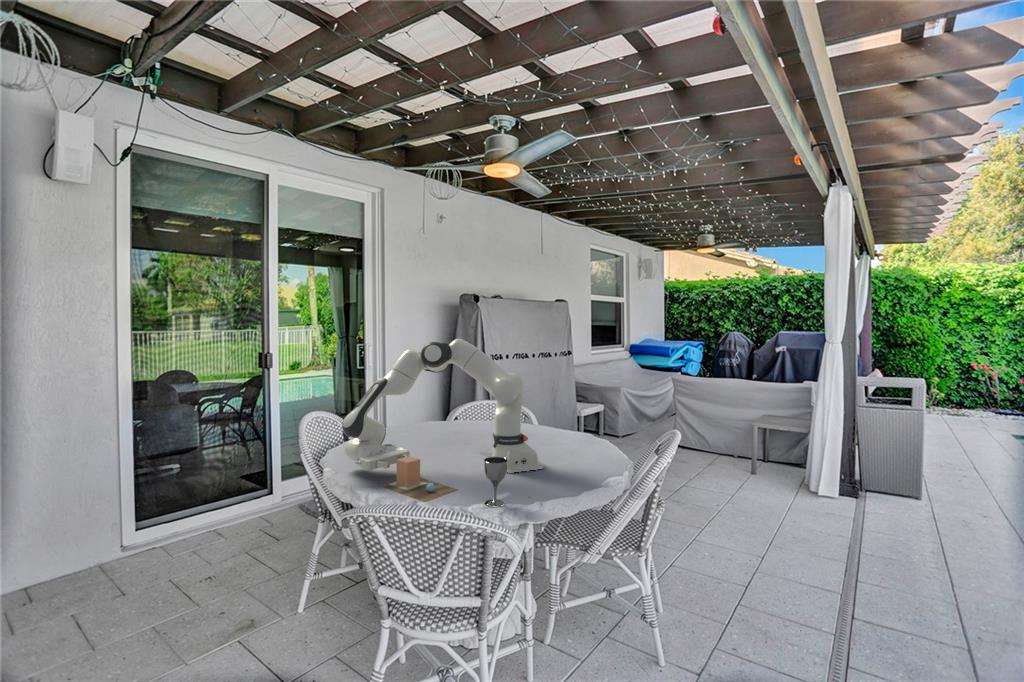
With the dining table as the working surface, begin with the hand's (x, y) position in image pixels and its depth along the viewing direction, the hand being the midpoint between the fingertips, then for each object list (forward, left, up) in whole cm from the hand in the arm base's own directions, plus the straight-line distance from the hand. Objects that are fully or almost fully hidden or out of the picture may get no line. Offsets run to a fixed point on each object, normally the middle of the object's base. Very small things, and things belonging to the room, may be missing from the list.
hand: (398, 462), depth 192 cm
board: (-7, +9, -8) cm, 14 cm away
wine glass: (-32, +25, -8) cm, 42 cm away
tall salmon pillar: (-4, +4, -7) cm, 9 cm away
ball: (-11, +13, -5) cm, 18 cm away
